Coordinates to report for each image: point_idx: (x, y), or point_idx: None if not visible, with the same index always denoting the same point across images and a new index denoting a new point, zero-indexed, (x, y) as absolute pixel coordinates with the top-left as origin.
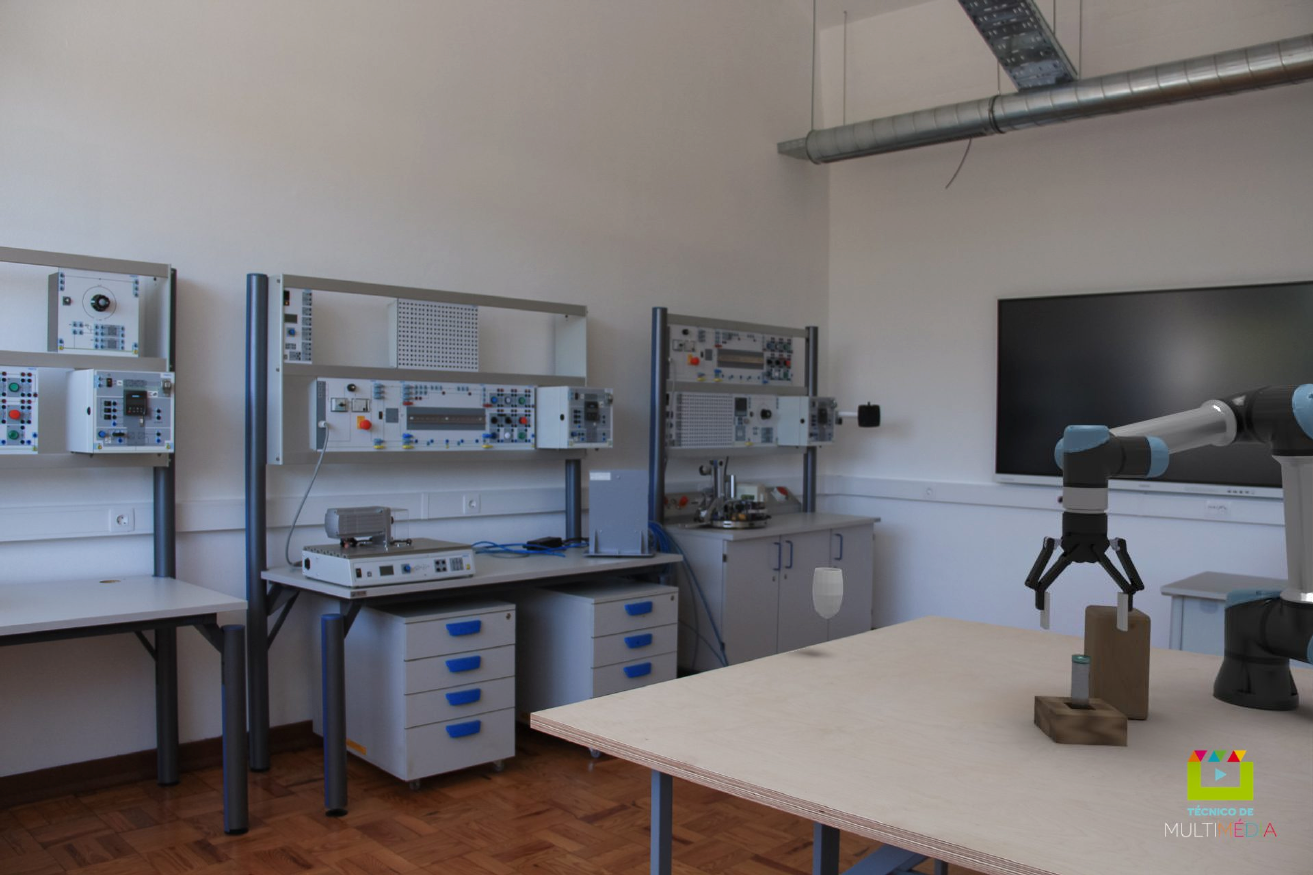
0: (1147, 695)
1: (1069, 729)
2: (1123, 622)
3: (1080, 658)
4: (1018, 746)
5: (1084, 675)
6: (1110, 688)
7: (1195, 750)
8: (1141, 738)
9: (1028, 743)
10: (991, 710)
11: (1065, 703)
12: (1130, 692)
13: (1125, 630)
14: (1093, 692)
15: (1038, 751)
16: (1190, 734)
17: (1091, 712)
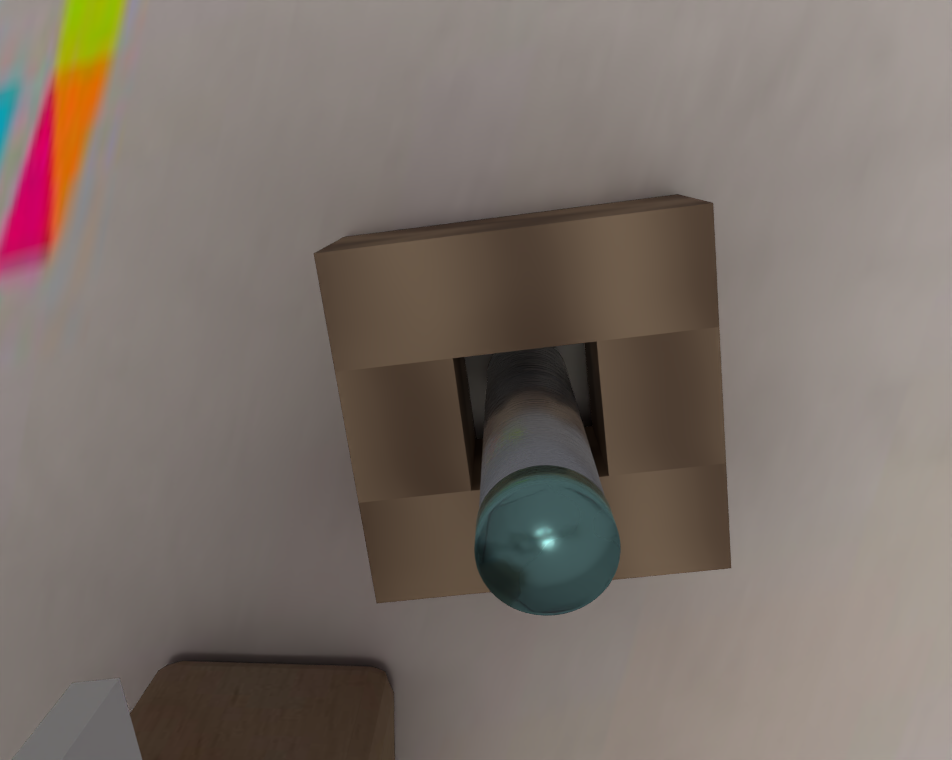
0: None
1: (624, 206)
2: (68, 748)
3: (568, 484)
4: (888, 79)
5: (527, 437)
6: (293, 750)
7: (43, 250)
8: (250, 378)
9: (821, 147)
10: (848, 649)
11: None
12: (198, 737)
13: (91, 686)
14: (378, 746)
15: (808, 18)
16: (21, 496)
17: (497, 299)
